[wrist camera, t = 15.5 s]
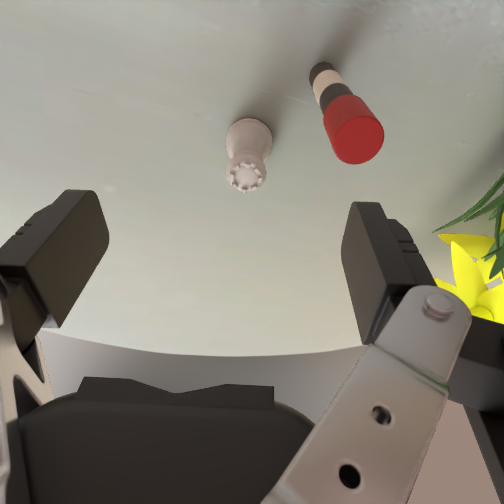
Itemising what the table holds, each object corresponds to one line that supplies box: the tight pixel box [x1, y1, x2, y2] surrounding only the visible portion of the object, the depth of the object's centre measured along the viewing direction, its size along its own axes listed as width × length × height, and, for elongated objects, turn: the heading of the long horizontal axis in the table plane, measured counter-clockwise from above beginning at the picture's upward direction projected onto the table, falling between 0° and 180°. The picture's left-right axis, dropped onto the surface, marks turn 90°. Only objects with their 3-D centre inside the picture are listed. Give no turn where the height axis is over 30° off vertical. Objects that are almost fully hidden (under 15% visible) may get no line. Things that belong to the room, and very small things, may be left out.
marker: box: [309, 62, 384, 164], centre depth 23 cm, size 3×3×14 cm
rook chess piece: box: [226, 118, 273, 193], centre depth 29 cm, size 4×4×8 cm
